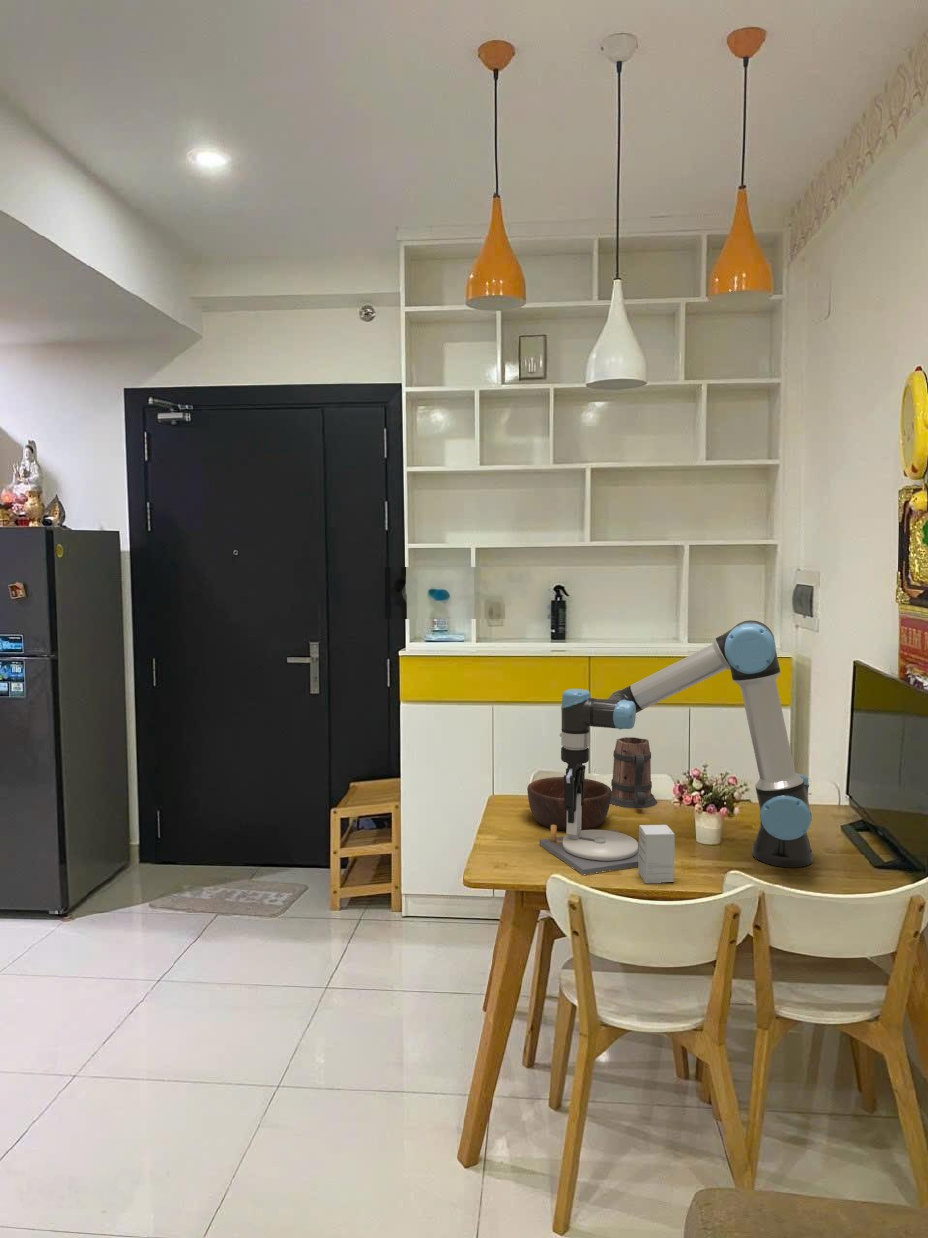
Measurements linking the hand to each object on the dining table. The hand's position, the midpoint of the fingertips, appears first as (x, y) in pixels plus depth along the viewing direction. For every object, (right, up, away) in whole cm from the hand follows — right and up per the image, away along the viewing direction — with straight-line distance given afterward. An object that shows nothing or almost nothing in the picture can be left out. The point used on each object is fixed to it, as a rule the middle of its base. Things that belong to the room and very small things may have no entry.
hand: (573, 831), depth 241 cm
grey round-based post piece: (+7, -4, -3) cm, 8 cm away
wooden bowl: (+2, -3, +25) cm, 25 cm away
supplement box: (+18, -7, -20) cm, 28 cm away
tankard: (+24, -2, +43) cm, 50 cm away
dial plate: (+7, -5, -3) cm, 9 cm away
